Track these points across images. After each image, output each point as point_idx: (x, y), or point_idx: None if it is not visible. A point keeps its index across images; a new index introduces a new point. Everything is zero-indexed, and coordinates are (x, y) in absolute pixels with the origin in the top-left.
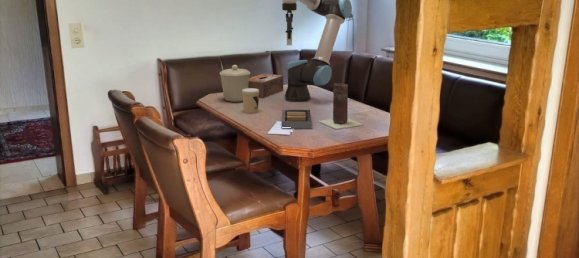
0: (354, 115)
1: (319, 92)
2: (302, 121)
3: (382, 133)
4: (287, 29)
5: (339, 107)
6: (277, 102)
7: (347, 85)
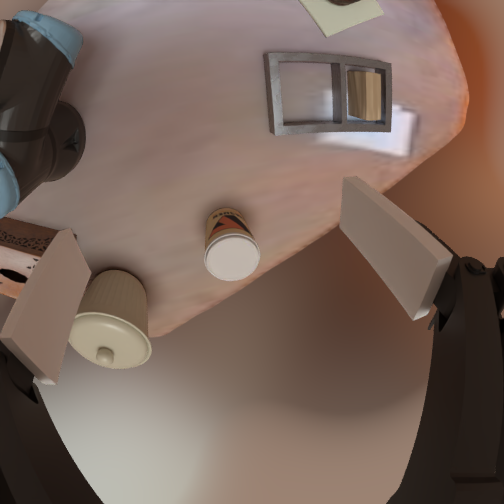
0: None
1: None
2: (388, 83)
3: None
4: (498, 318)
5: None
6: (103, 183)
7: None
